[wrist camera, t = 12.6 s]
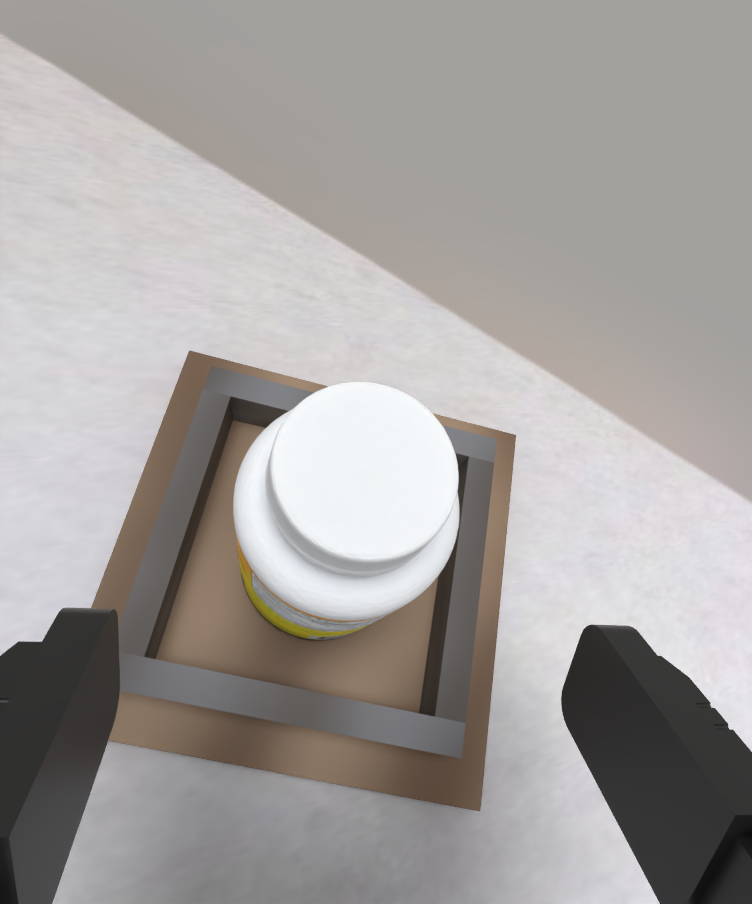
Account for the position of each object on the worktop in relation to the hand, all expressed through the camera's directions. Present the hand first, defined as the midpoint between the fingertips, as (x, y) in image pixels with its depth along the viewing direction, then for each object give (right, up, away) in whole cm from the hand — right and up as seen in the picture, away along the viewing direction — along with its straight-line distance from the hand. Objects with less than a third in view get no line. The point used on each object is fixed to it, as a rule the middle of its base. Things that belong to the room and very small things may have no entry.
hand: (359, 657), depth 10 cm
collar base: (-2, -1, +12) cm, 12 cm away
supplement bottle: (-2, -1, +11) cm, 11 cm away
